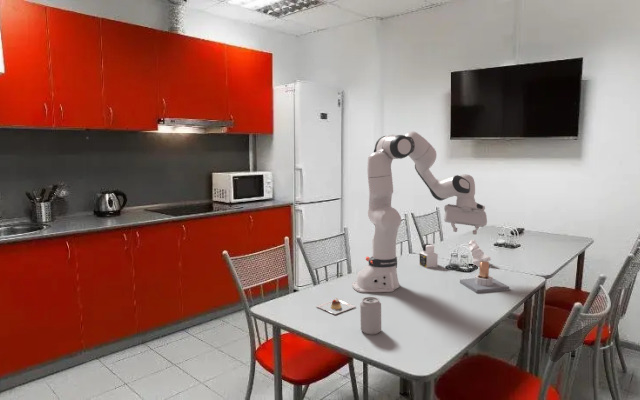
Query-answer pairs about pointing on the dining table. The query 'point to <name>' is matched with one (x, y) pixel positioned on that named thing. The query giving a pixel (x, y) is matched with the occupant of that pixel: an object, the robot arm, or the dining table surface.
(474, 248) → the soft serve ice cream
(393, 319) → the dining table surface
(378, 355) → the dining table surface
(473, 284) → the collar plate
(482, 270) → the copper tube
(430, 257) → the medicine bottle
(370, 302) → the can
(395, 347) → the dining table surface
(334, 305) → the dessert
